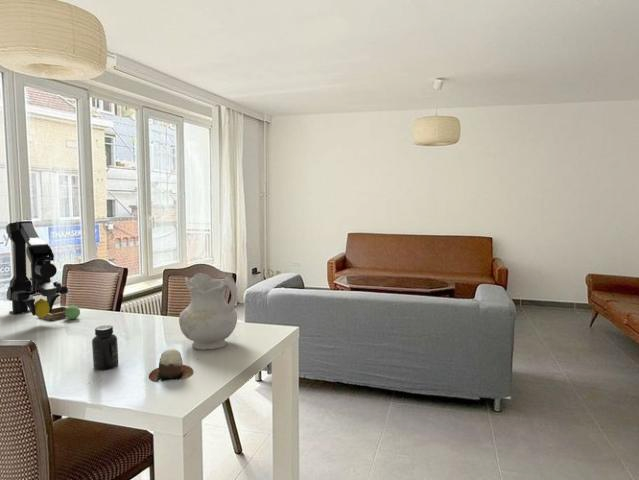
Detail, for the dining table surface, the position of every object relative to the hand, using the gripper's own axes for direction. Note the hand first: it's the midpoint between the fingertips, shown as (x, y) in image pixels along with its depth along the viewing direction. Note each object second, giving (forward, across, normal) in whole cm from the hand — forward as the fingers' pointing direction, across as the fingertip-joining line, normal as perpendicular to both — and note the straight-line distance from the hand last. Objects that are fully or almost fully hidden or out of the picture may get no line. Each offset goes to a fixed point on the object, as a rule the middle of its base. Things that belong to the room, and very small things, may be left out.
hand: (41, 313), depth 181 cm
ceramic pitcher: (+4, +20, -75) cm, 78 cm away
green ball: (+4, +11, -2) cm, 12 cm away
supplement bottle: (+4, -12, -64) cm, 65 cm away
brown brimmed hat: (+4, -5, -85) cm, 85 cm away
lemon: (+2, 0, 0) cm, 2 cm away
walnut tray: (+4, +10, +8) cm, 14 cm away
